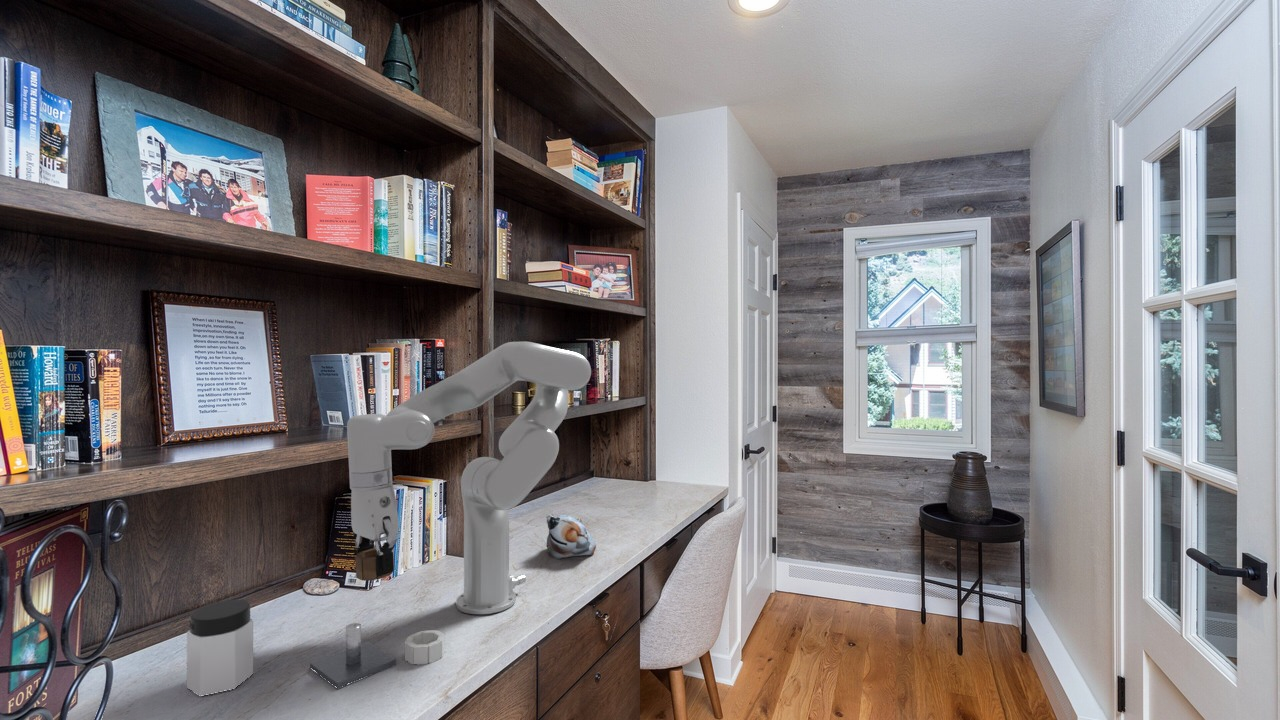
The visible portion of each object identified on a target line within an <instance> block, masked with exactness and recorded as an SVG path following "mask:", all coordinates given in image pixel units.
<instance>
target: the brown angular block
mask: <svg viewBox="0 0 1280 720" xmlns="http://www.w3.org/2000/svg"><path fill="white" fill-rule="evenodd" d="M376 555H378V554H377V550H376V547H374V548H373V549H369V550H366V551H362V552H360V553H358V554H357V553H356V556H354V558H355V577H356V579H358V580H361V581H363V582H364V581H366V582H367V581H377V580H380V579H384V578H386V577H389V576H391V575H392V574H393V572H395V569H394V570H393V572H391V573H388V574H385V575H382V576H377V575H376V558H375V556H376ZM394 555H395V553H394V552H393V566H394V567H395V557H394Z"/></svg>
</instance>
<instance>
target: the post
mask: <svg viewBox="0 0 1280 720" xmlns="http://www.w3.org/2000/svg"><path fill="white" fill-rule="evenodd" d="M393 665H394V666H395V665H397V658H395V657H394V656H392V655H390V654H389V653H387V652H385V651H384V650H382V649H380V648H379V647H377V646H376V645H374V644H373V643H371V642H369V641H365V642H362V623H360V622H359V623H358V622H357V623H356V622H355V623H350V624H348V625H346V627H345V649H343V650H341V651H338V652H335V653H334V654H331V655H328V656H325V657H322V658H320V659H317V660H314V661H312V662H310V663H309V669H310V668H312V669H313V670H315V671H316V672H317V673H318V674H319V675H321V676H322V677H323V678H325V679H326V680H327V681H329V682H330V683H331V684H333V685H334V686H336V687H337V688H340V687H342V686H344V685H347V684H348V683H351V682H354V681H356V680H359V679H361V678H363V679H365V678H364V677H366V676H368V677H369V675H370V676H372V675H371V674H373V675H375V674H377V673H379V672H378V671H380V672H382V671H384V670H387V669H389V668H391V667H393ZM388 667H389V668H388ZM386 668H387V669H386ZM383 669H384V670H383ZM381 670H382V671H381ZM374 673H375V674H374ZM318 674H317V675H318ZM319 675H318V676H319ZM322 677H321V678H322ZM323 678H322V679H323ZM366 678H367V677H366ZM326 680H325V681H326ZM361 680H362V679H361ZM327 681H326V682H327ZM359 681H360V680H359ZM356 682H357V681H356ZM330 683H329V684H330ZM354 683H355V682H354ZM331 684H330V685H331ZM334 686H333V687H334ZM347 686H348V685H347ZM344 687H345V686H344ZM342 688H343V687H342ZM340 689H341V688H340Z"/></svg>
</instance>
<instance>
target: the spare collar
mask: <svg viewBox="0 0 1280 720" xmlns="http://www.w3.org/2000/svg"><path fill="white" fill-rule="evenodd" d="M445 647H446V635H445V633H444V632H441V631H439V630H438V629H437V630H436V629H435V630H434V629H432V630H430V629H429V630H422V631H421V630H420V631H418V632H415V633H412V634H410V635H409V636H407V638H406V640H405V642H404V660H405V661H406V662H407V661H408V662H407V663H409V664H410V665H414V664H417V665H428V664H432V663H434V662H436V661H439V660H441V659H442V658H443V657H442V656H444V654H445V652H446V650H445V649H446V648H445ZM444 651H445V652H444ZM440 658H441V659H440Z"/></svg>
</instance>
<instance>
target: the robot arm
mask: <svg viewBox="0 0 1280 720" xmlns="http://www.w3.org/2000/svg"><path fill="white" fill-rule="evenodd" d="M591 375H592V368H591V364H590V362H589V360H587V358H586V357H585V356H584V355H582V354H580V353H578V352H575V351H570V350H566V349H563V348H562V349H561V348H557V347H553V346H549V345H545V344H541V343H536V342H532V341H510V342H509V341H508V342H506V343H503V344H501V345H500V346H498V347H496V348H495V349H493V350H491V351H490V352H488V353H487V354H485V355H484V356H482V357H480V358H479V359H477V360H476V361H474V362H472V363H471V364H469V365H468V366H466V367H464V368H463V369H461V370H460V371H458V372H456V373H454V374H453V375H451V376H448V377H446V378H445V379H442V380H441V381H439V382H437V383H435V384H433V385H431V386H429V387H427V388H425V389H423V390H421V391H419V392H417V393H416V394H414V395H413V396H411V397H409V398H408V399H406V400H405V401H403V402H402V403H400V404H399V405H397V406H395V407H394V408H393V409H391V410H390V411H389V412H388V413H386V415H385V414H382V413H368V414H367V413H366V414H359V415H354V416H352V417H350V418H349V419H348V420H347V424H346V431H347V432H346V435H347V453H348V454H347V455H348V457H347V458H348V470H349V472H348V473H349V475H348V476H349V477H348V478H349V489H350V490H351V497H350V518H351V520H350V521H351V523H350V525H351V528H352V529H351V530H352V532H353V537H354V538H355V547H356V555H357V554H358V553H360V552H362V551H366V550H369V549H373V548H376V550H377V554H378V555H376V556H375V558H376V575H377V576H382V575H385V574H388V573H391V572H394V571H395V565H394V566H393V552H394V551H395V546H396V543H397V542H398V539H399V536H398V535H399V533H400V528H399V514H398V506H397V499H396V494H395V489H394V487H393V471H392V470H393V469H392V468H393V467H392V464H393V463H392V450H418V449H421V448H423V447H425V446H427V445H428V444H429V443H430V442H431V441H432V439H433V437H434V435H435V432H436V431H435V429H436V428H435V423H437V422H438V421H440V420H442V419H444V418H446V417H449V416H451V415H454V414H458V413H460V412H461V413H462V412H466V411H470V410H474V409H476V408H478V407H481V406H482V405H484V404H485V403H486V402H488V401H489V400H491V399H492V398H494V397H495V396H497V395H498V394H500V393H501V392H503V391H504V390H505V389H507V388H509V387H510V386H511V385H513V384H514V383H516V382H518V381H521V382H522V381H524V382H530V383H534V384H536V386H535V388H536V389H535V393H534V396H533V397H532V400H531V401H530V403H529V404H528V405H527V406H526V408H525V409H523V411H522V412H521V413H520V414H519V415H518V416H517V417H516V418H515V420H513V422H511V424H509V426H507V427H506V429H505V430H504V431H503V433H502V434H501V435H500V437H499V440H498V450H499V452H500V454H501V455H502V456H503V458H502V459H497V458H494V457H490V456H481V457H476V458H475V459H473V460H471V461H470V462H469V463H468V464H467V465H465V467H464V470H462V471H463V472H462V475H461V479H460V488H461V489H460V491H461V497H462V498H461V500H462V504H463V507H462V508H463V529H464V530H463V593H461V594H460V595H459V596H457V598H456V601H455V605H456V608H457V610H459V612H462V613H465V614H470V615H489V614H495V613H500V612H502V611H505V610H507V609H509V608H511V607H512V606H513V605H514V604H515V603H516V601H517V595H516V593H515V591H514V590H513V589H515V588H516V586H520V585H523V584H525V583H526V582H527V579H526V576H525V575H524V574H520V575H516V576H515V577H514V575H513V574H510V513H509V510H510V509H511V510H512V509H513V508H515V507H516V506H518V505H519V504H521V502H522V501H524V499H525V498H526V497H527V496H528V495H529V494H530V493H531V491H532V490H533V489H534V488H535V487H536V486H537V484H538V483H539V482H540V481H541V480H542V478H544V476H545V475H546V474H547V473H548V471H549V470H550V469H551V468H552V466H553V465H554V463H555V462H556V459H557V456H558V455H559V451H560V440H559V437H558V435H557V434H556V433H555V431H556V430H557V429H558V427H560V425H561V424H562V422H563V420H565V418H566V416H567V412H568V408H569V391H577V390H581V389H582V388H583V387H585V386H586V385H587V384H588V383H589V381H590V379H591ZM382 535H385V536H382ZM381 536H382V537H381ZM384 541H385V542H384ZM372 542H374V543H372ZM381 542H383V544H382V543H381ZM393 570H394V571H393Z"/></svg>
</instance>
